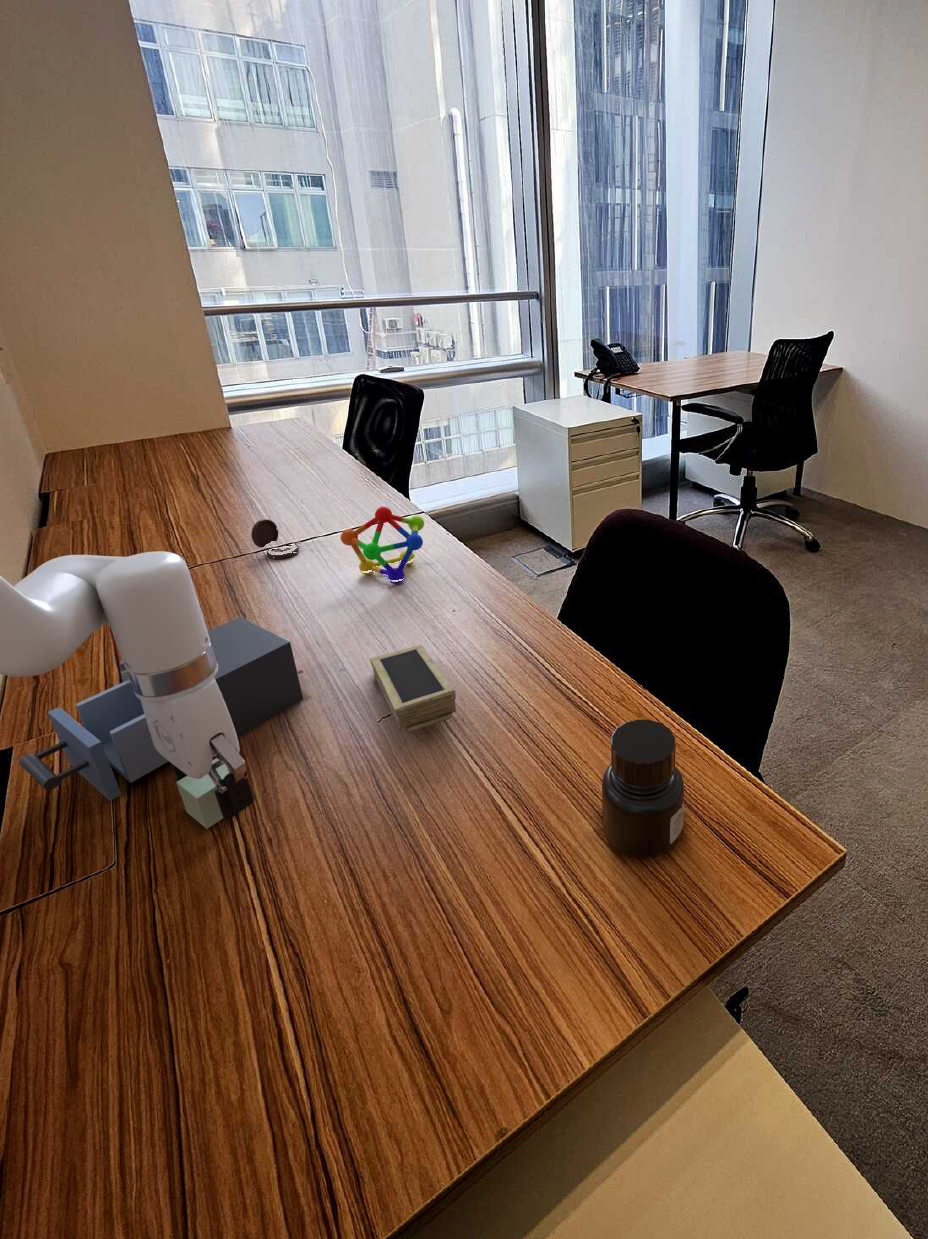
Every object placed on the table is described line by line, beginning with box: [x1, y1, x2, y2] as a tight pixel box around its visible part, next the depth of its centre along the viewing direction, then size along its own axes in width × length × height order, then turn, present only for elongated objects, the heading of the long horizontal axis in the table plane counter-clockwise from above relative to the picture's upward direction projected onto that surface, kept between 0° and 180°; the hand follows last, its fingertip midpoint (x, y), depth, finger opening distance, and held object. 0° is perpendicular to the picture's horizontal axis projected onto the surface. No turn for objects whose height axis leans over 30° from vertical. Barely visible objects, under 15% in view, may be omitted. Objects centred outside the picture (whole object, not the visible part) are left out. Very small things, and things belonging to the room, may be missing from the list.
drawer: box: [19, 679, 169, 802], centre depth 80 cm, size 18×11×8 cm, turn 147°
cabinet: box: [207, 616, 304, 738], centre depth 90 cm, size 15×13×10 cm
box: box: [369, 644, 457, 734], centre depth 94 cm, size 8×22×5 cm, turn 32°
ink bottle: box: [601, 718, 685, 858], centre depth 71 cm, size 10×9×12 cm
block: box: [176, 758, 229, 830], centre depth 75 cm, size 4×4×4 cm
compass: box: [251, 519, 302, 560], centre depth 139 cm, size 8×8×7 cm
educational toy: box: [340, 506, 425, 585], centre depth 127 cm, size 16×13×15 cm
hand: (215, 792), depth 75 cm, fingers open, 9 cm apart
